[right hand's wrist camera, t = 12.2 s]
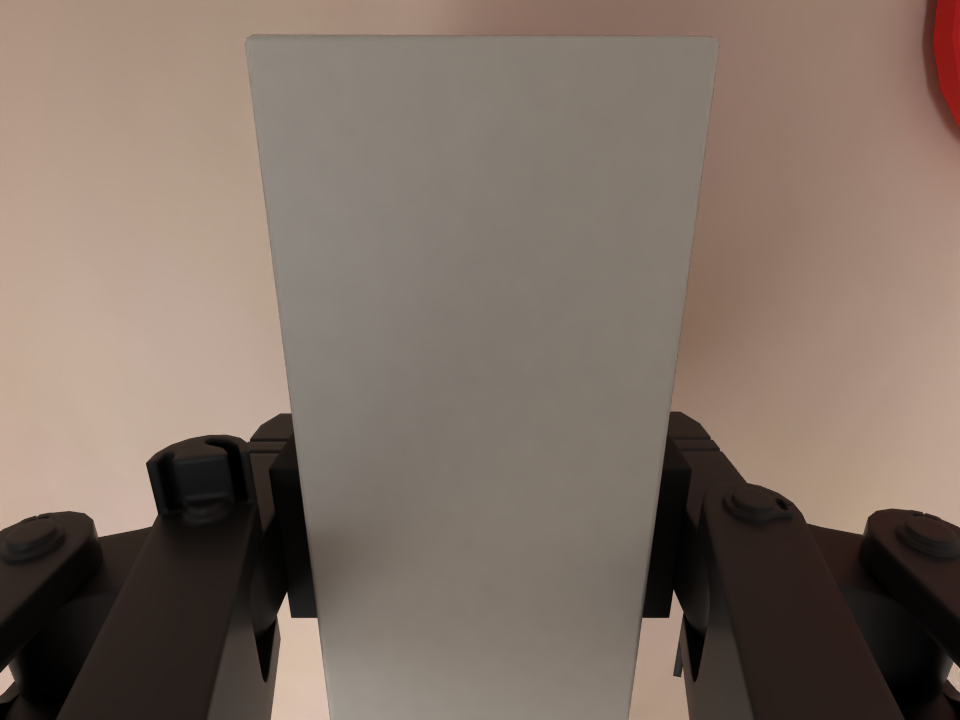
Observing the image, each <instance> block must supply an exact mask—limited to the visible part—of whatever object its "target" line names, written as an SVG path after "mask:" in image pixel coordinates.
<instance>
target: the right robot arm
mask: <svg viewBox="0 0 960 720" xmlns="http://www.w3.org/2000/svg"><path fill="white" fill-rule="evenodd" d="M146 466H147V470H148V474H149V478H150V482H151V486H152V490H153V494H154V498H155V502H156V507H157V511H158V516H157V518H156V520H155V522H154V524H153V526H152V527H148V528H144V529H140V530H134V531H129V532H124V533H119V534H114V535H109V536H103V537H98V535H97V532H96V528H95V525H94V521H93V519H91V518H90V517H89V516H87V515H86V514H85V513H78V512H72V511H66V512H56V513H46V514H41V515H39V516H37V517H36V516H33V517H30V518H27V519H24V520H22V521H21V522H19V523H17V524H15V525H12V526H10V527H8V528H5V529H3V530H2V531H0V673H1V672H2V670H3V669H4V668H5V667H6V666H7V665H8V666H9V668H10V671H11V673H12V676H13V678H14V680H15V681H14V682H13V684H12V685H11V686H10V687H9V688H8V689H7V690H6V691H5V692H4V693H3V694H2V695H1V696H0V720H271V713H272V704H273V696H274V688H275V680H276V672H277V664H278V656H279V648H280V640H281V638H280V631H279V625H278V619H277V613H278V611H279V609H280V606H281V604H282V602H283V599H284V597H285V595H286V593H288V599H289V606H290V612H291V618H317V610H316V602H315V594H314V586H313V578H312V571H311V563H310V555H309V547H308V539H307V531H306V523H305V515H304V507H303V499H302V491H301V483H300V475H299V468H298V460H297V452H296V444H295V436H294V428H293V420H292V414H279V415H277V416H276V417H274V418H272V419H271V420H269V421H267V422H266V423H264V424H262V425H261V426H260V427H259V428H258V430H257V431H256V432H255V434H254V435H253V436H252V437H251V439H250V442H245V441H244V440H243V439H241V438H239V437H234V436H230V435H206V436H201V437H195V438H190V439H187V440H184V441H181V442H178V443H175V444H172V445H170V446H168V447H166V448H165V449H163V450H161V451H159V452H157V453H156V454H155V455H154V456H153V457H152V458H151V459H150V460H149V461H148V462H147V463H146ZM673 589H674V591H675V593H676V596H677V598H678V600H679V602H680V605H681V607H682V609H683V612H684V613H683V619H682V625H681V631H680V637H679V643H678V649H677V655H676V661H675V667H674V674H673V676H677V677H681V674H682V668H683V671H684V679H685V687H686V695H687V703H688V711H689V719H690V720H960V692H958V691H957V690H956V689H955V688H954V686H953V685H952V684H951V683H950V682H949V681H948V680H947V677H948V675H949V672H950V670H951V667H952V665H953V662H955V664H956V665H957V666H958V667H959V668H960V528H959V527H958V526H955V525H953V524H951V523H948V522H946V521H944V520H942V519H940V518H939V517H937V516H934V515H930V514H927V513H925V514H923V512H919V511H914V510H901V509H886V510H879V511H876V512H875V513H873V514H872V515H871V516H869V517H868V520H867V523H866V527H865V530H864V533H863V535H860V534H855V533H850V532H844V531H839V530H834V529H829V528H823V527H819V526H815V525H811V524H807V523H806V521H805V519H804V517H803V515H802V513H801V512H800V511H799V509H798V508H797V507H796V506H795V505H794V503H793V502H791V501H790V500H788V499H787V498H785V497H784V496H782V495H780V494H779V493H777V492H774V491H772V490H769V489H767V488H765V487H762V486H759V485H754V484H749V483H747V482H746V481H745V480H744V478H743V477H742V476H741V475H740V473H739V472H738V471H737V470H736V468H735V467H734V466H733V465H732V463H731V462H730V461H729V460H728V458H727V457H726V456H725V455H724V453H723V452H722V451H720V448H719V447H718V446H717V444H716V443H715V442H714V441H713V440H711V437H710V436H709V434H708V433H707V432H706V431H705V429H704V428H703V427H702V426H701V424H700V423H698V422H697V421H695V420H693V419H692V418H690V417H688V416H687V415H685V414H683V413H682V412H670V415H669V423H668V430H667V437H666V445H665V452H664V460H663V467H662V475H661V482H660V489H659V497H658V504H657V512H656V519H655V527H654V534H653V541H652V549H651V556H650V564H649V571H648V578H647V586H646V593H645V601H644V608H643V616H642V618H669V615H670V609H671V602H672V596H673Z"/></svg>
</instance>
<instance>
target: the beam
mask: <svg viewBox="0 0 960 720" xmlns="http://www.w3.org/2000/svg"><path fill="white" fill-rule="evenodd" d="M245 48H246V56H247V63H248V71H249V79H250V87H251V95H252V103H253V111H254V119H255V127H256V135H257V143H258V151H259V159H260V166H261V174H262V182H263V190H264V198H265V206H266V214H267V222H268V230H269V238H270V246H271V254H272V262H273V269H274V277H275V285H276V293H277V301H278V309H279V317H280V325H281V333H282V341H283V349H284V357H285V365H286V372H287V380H288V388H289V396H290V404H291V412H292V420H293V428H294V436H295V444H296V452H297V460H298V468H299V475H300V483H301V491H302V499H303V507H304V515H305V523H306V531H307V539H308V547H309V555H310V563H311V571H312V578H313V586H314V594H315V602H316V610H317V618H318V626H319V634H320V642H321V650H322V658H323V666H324V674H325V681H326V689H327V697H328V705H329V713H330V720H629V712H630V705H631V697H632V690H633V682H634V675H635V668H636V660H637V653H638V645H639V638H640V630H641V623H642V616H643V608H644V601H645V593H646V586H647V578H648V571H649V564H650V556H651V549H652V541H653V534H654V527H655V519H656V512H657V504H658V497H659V489H660V482H661V475H662V467H663V460H664V452H665V445H666V437H667V430H668V423H669V415H670V408H671V400H672V393H673V385H674V378H675V371H676V363H677V356H678V348H679V341H680V334H681V326H682V319H683V311H684V304H685V296H686V289H687V282H688V274H689V267H690V259H691V252H692V244H693V237H694V230H695V222H696V215H697V207H698V200H699V192H700V185H701V178H702V170H703V163H704V155H705V148H706V141H707V133H708V126H709V118H710V111H711V103H712V96H713V89H714V81H715V74H716V66H717V59H718V51H719V42H718V39H716V38H714V37H712V36H534V35H254V34H253V35H251V36H249V37H247V38H246V42H245Z"/></svg>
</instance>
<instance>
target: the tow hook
mask: <svg viewBox="0 0 960 720" xmlns="http://www.w3.org/2000/svg"><path fill="white" fill-rule="evenodd" d="M933 47H934V53H935V59H936V65H937V72H938V78H939V84H940V90H941V92H942V94H943V96H944V98H945V100H946V102H947V104H948V106H949V108H950V110H951V112H952V114H953V116H954V118H955V120H956V122H957V124H958V126H959V128H960V0H937V6H936V17H935V27H934V37H933Z"/></svg>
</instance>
